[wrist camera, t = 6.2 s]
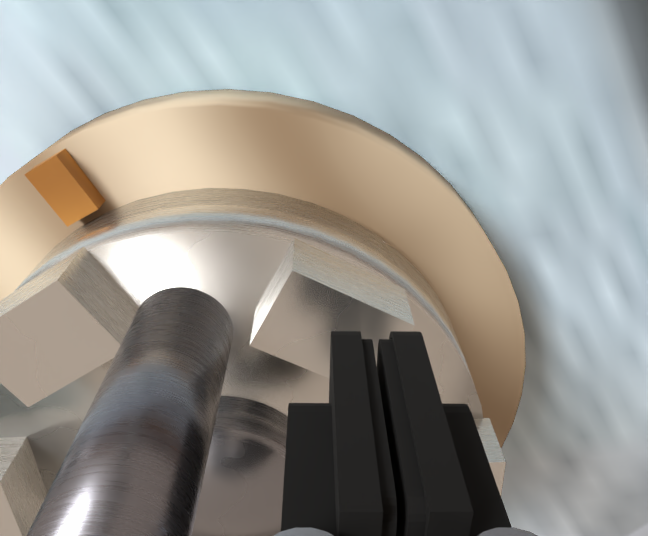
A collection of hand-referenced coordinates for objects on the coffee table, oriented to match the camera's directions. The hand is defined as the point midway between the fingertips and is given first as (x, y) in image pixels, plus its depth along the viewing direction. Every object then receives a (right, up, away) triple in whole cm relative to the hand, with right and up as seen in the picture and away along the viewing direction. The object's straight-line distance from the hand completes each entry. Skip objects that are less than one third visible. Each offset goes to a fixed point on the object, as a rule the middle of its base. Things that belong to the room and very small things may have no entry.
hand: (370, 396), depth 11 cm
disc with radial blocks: (-4, -2, +7) cm, 8 cm away
